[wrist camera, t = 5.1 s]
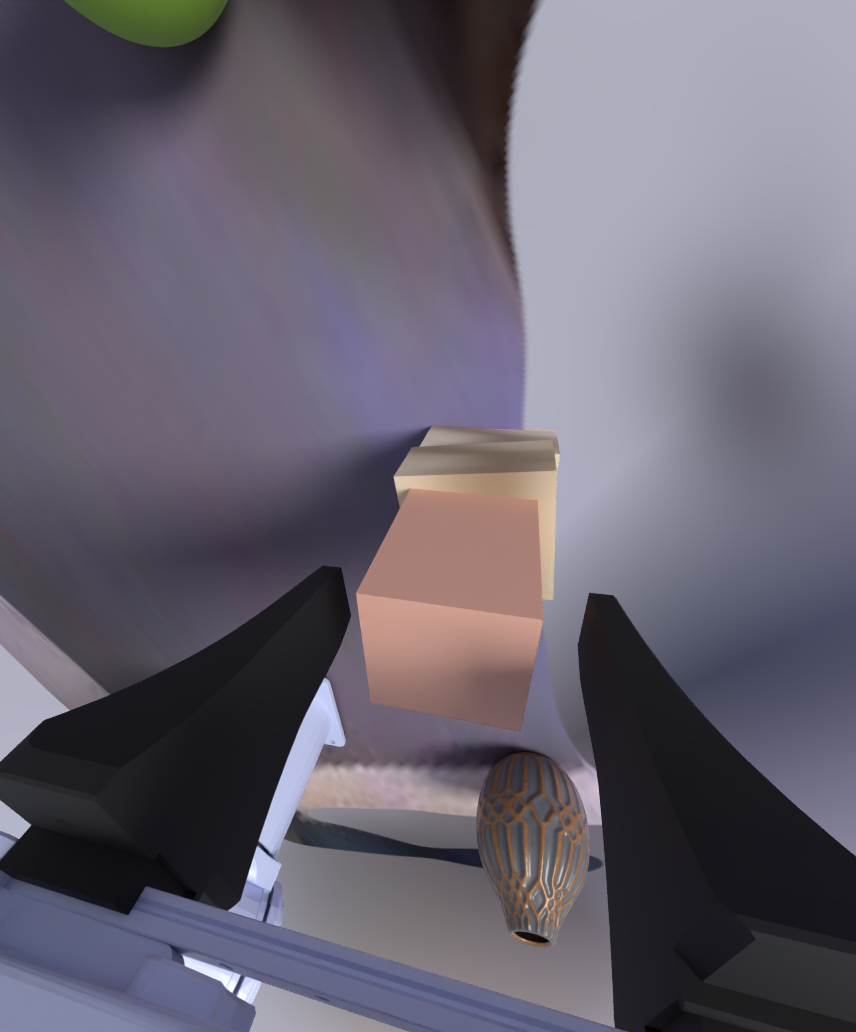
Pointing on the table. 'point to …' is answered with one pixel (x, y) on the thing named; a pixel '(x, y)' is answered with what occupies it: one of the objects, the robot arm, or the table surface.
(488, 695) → the block
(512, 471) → the tower top
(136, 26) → the snail figurine
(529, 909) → the vase
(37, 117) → the table surface
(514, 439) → the tower base
